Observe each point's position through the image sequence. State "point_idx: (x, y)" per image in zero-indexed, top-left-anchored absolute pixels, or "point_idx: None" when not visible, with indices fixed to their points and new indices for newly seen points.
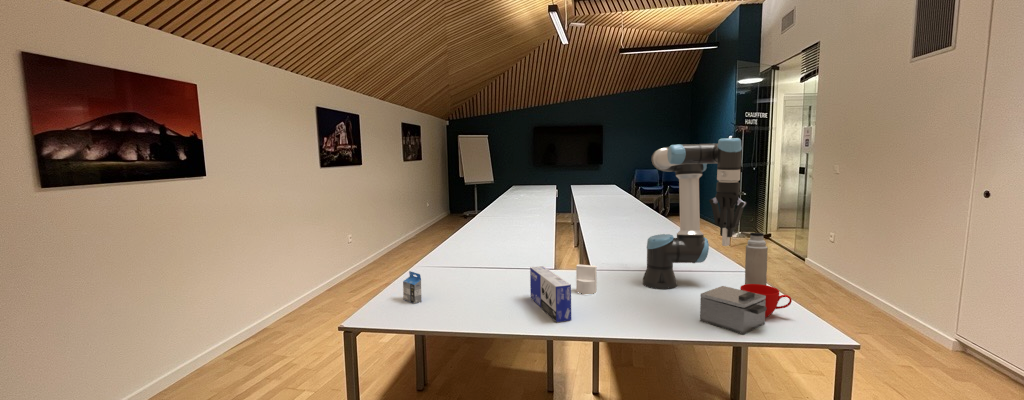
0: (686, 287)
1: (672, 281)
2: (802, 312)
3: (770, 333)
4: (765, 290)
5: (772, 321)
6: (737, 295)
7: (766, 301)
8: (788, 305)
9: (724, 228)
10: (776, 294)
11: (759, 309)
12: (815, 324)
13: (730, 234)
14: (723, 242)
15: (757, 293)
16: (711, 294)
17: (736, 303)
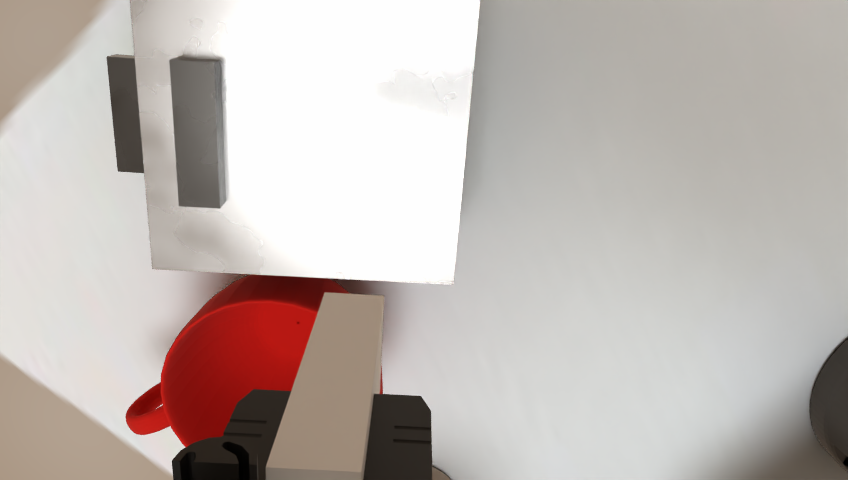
0: (756, 443)
1: (843, 406)
2: None
3: None
4: None
5: (206, 272)
6: (272, 141)
7: (202, 307)
8: (149, 389)
9: (314, 469)
10: (162, 377)
11: (116, 90)
12: (68, 370)
13: (231, 425)
14: (357, 317)
15: (231, 304)
16: (412, 29)
17: None
